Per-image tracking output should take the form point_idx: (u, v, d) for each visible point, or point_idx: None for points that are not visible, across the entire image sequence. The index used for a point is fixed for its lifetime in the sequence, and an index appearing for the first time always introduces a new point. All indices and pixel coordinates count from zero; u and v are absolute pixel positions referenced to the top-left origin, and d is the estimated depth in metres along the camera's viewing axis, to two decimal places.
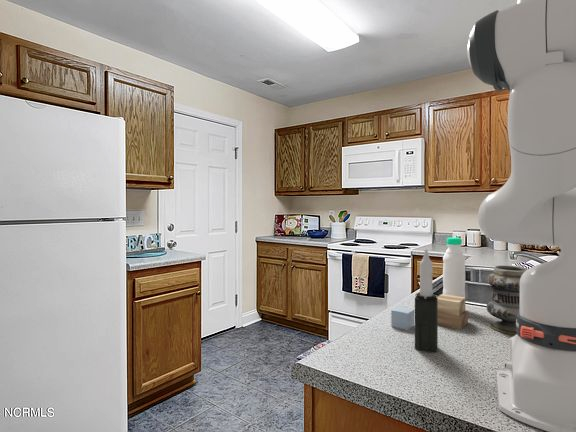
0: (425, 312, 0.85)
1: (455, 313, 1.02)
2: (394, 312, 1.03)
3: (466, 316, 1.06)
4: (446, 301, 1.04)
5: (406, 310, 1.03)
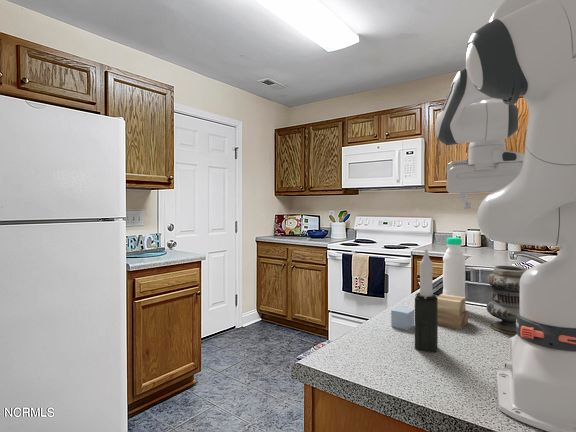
0: (425, 312, 0.85)
1: (455, 313, 1.02)
2: (394, 312, 1.03)
3: (466, 316, 1.06)
4: (446, 301, 1.04)
5: (406, 310, 1.03)
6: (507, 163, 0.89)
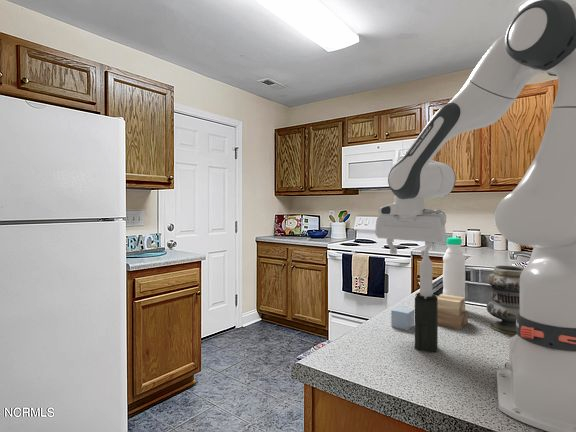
0: (425, 312, 0.85)
1: (455, 313, 1.02)
2: (394, 312, 1.03)
3: (466, 316, 1.06)
4: (446, 301, 1.04)
5: (406, 310, 1.03)
6: None
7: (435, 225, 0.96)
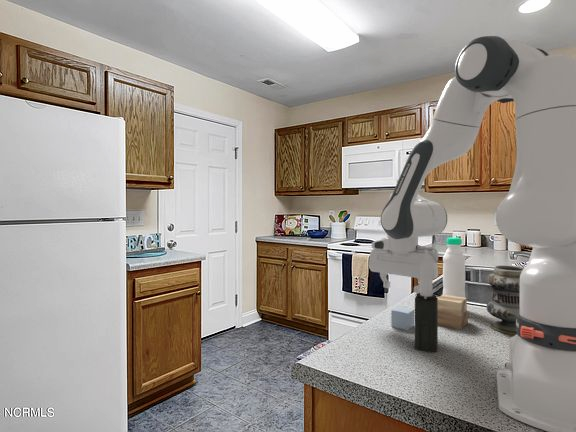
0: (425, 312, 0.85)
1: (457, 314, 1.02)
2: (394, 312, 1.03)
3: (466, 316, 1.06)
4: (448, 302, 1.03)
5: (406, 310, 1.03)
6: None
7: None
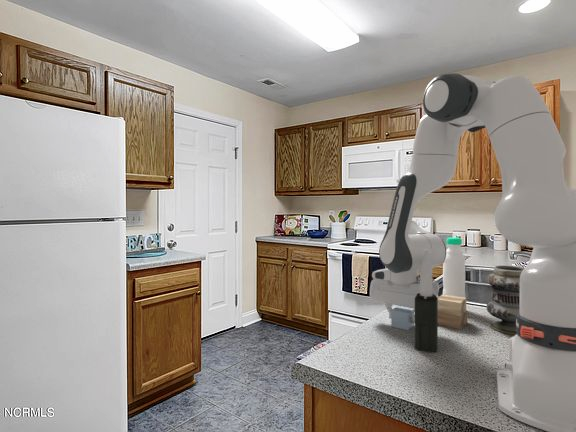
0: (425, 312, 0.85)
1: (457, 314, 1.02)
2: (394, 312, 1.03)
3: (465, 316, 1.06)
4: (447, 302, 1.03)
5: (406, 310, 1.03)
6: None
7: None
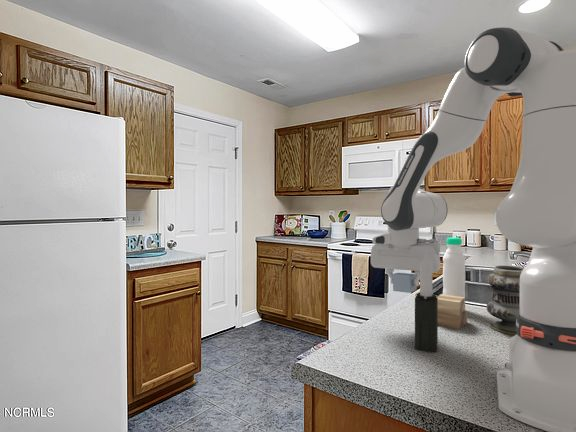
0: (425, 312, 0.85)
1: (455, 313, 1.02)
2: (395, 276, 1.02)
3: (465, 316, 1.06)
4: (446, 301, 1.04)
5: (408, 273, 1.03)
6: None
7: (429, 255, 0.97)
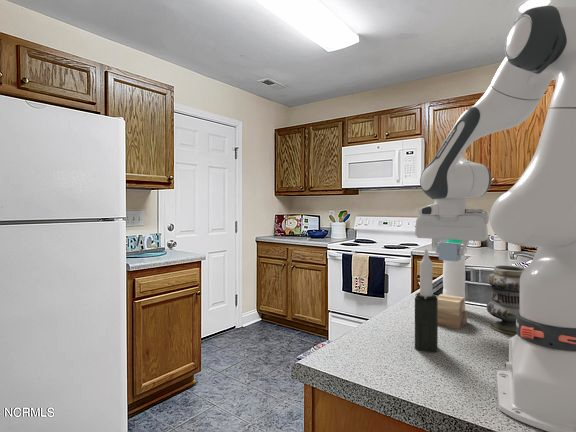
0: (425, 312, 0.85)
1: (455, 313, 1.02)
2: (442, 245, 1.05)
3: (465, 316, 1.06)
4: (446, 301, 1.04)
5: (453, 243, 1.05)
6: None
7: (478, 224, 0.99)
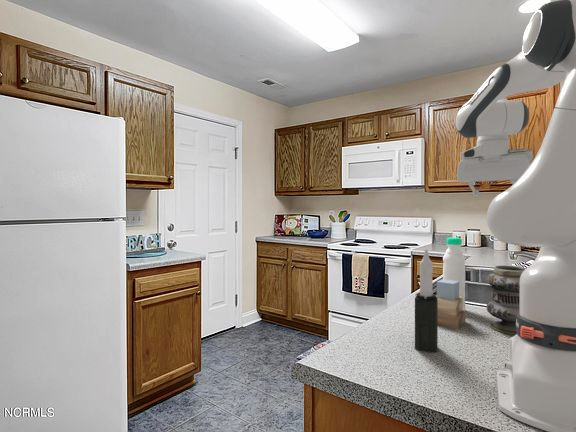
0: (425, 312, 0.85)
1: (452, 313, 1.03)
2: (439, 283, 1.06)
3: (463, 315, 1.06)
4: (443, 301, 1.04)
5: (451, 281, 1.06)
6: None
7: (522, 162, 1.02)
